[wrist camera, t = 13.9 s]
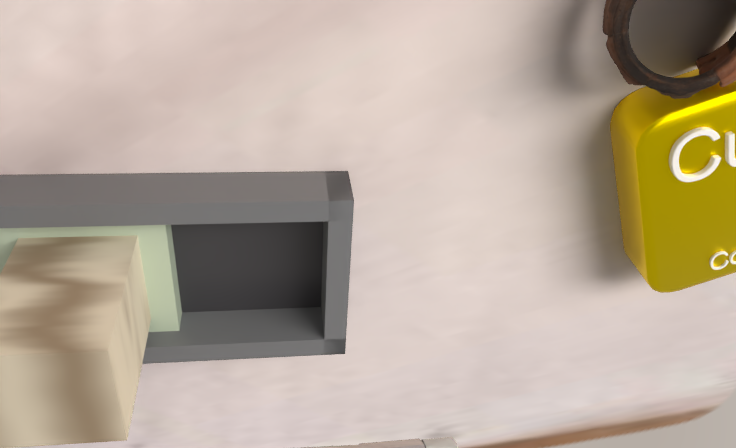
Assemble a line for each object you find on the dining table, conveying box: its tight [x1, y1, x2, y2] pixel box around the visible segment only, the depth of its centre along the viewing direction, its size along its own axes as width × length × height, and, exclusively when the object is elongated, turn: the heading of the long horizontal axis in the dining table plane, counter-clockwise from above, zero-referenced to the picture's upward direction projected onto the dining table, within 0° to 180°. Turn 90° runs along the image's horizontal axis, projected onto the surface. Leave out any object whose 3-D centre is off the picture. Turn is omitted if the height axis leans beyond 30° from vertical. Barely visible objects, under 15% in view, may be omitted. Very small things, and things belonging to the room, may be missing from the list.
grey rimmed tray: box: [0, 171, 354, 364], centre depth 44 cm, size 32×13×4 cm, turn 86°
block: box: [0, 235, 151, 448], centre depth 39 cm, size 7×7×10 cm
